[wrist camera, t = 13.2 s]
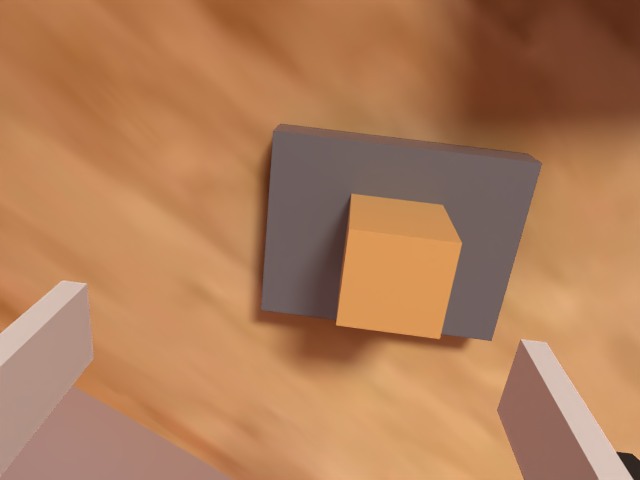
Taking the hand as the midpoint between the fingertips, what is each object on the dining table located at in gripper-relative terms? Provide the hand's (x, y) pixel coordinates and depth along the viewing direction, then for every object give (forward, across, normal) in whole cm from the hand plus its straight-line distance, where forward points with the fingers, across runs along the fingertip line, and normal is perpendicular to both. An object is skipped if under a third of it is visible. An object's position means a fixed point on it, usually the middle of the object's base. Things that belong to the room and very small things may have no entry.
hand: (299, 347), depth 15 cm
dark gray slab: (+23, +5, -5) cm, 24 cm away
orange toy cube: (+20, +5, -4) cm, 21 cm away
